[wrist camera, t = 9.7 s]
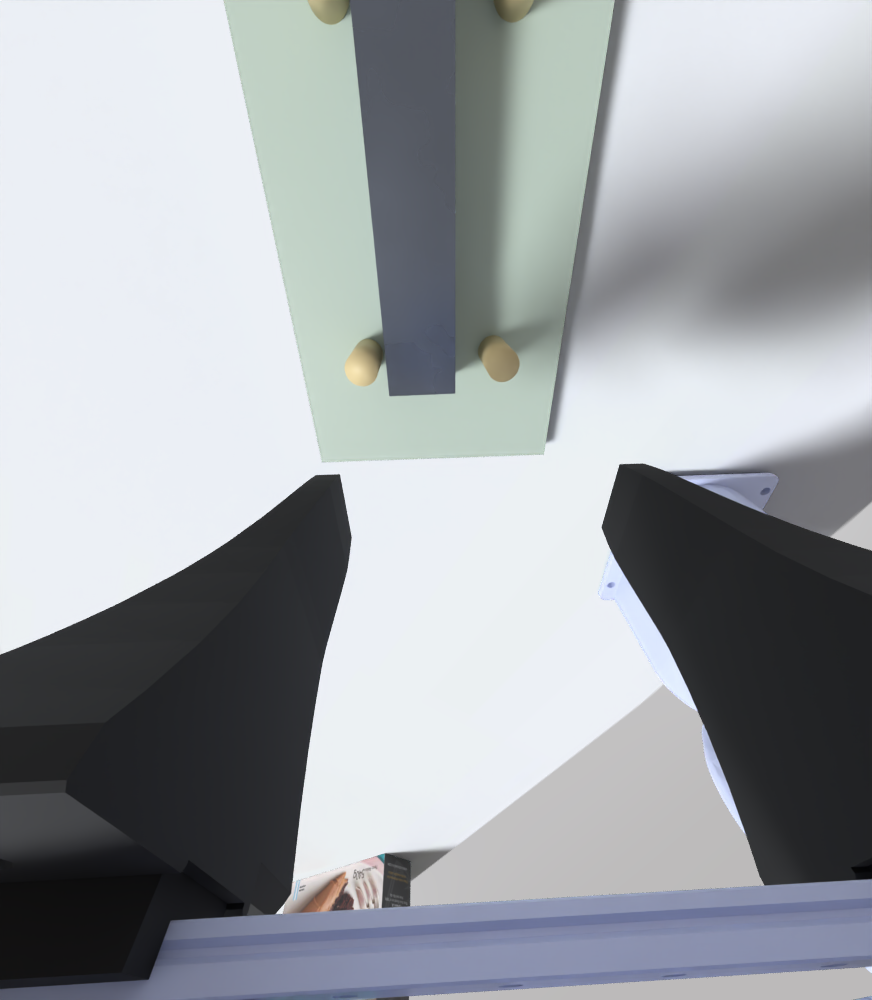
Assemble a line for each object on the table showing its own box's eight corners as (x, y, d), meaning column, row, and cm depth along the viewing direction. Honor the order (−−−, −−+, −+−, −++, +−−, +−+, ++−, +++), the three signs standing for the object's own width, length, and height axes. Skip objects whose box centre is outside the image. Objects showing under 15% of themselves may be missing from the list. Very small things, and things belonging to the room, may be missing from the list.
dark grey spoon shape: (467, 373, 16) (475, 392, 14) (375, 377, 16) (369, 397, 14) (481, -343, 8) (503, -561, 6) (292, -339, 8) (244, -562, 6)
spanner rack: (538, 445, 19) (559, 480, 17) (326, 453, 19) (309, 489, 16) (656, -370, 8) (783, -702, 5) (158, -375, 8) (13, -722, 5)
